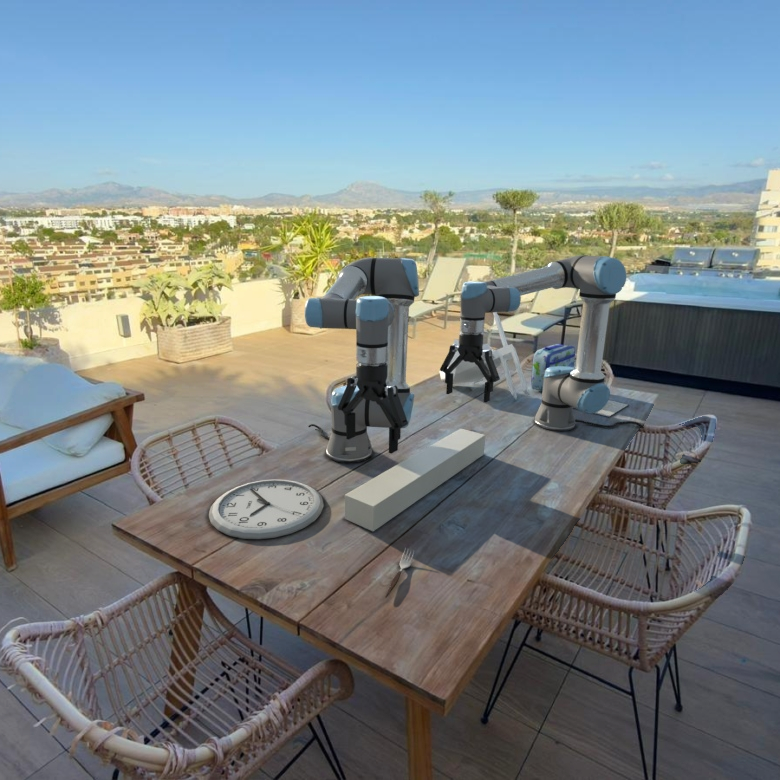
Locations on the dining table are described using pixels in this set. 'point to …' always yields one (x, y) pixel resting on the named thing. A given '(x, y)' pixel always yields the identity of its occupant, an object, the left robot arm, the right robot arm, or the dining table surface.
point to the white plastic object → (472, 372)
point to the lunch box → (550, 362)
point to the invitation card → (611, 408)
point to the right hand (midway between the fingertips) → (467, 397)
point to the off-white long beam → (412, 479)
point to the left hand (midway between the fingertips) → (371, 444)
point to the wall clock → (266, 509)
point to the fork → (403, 565)
